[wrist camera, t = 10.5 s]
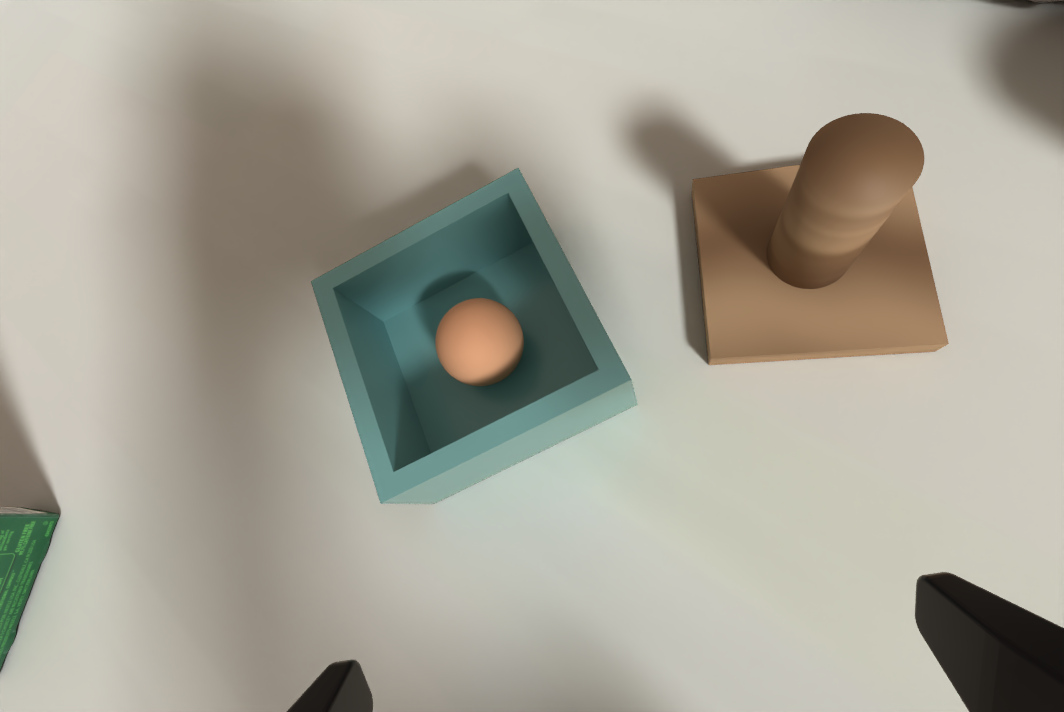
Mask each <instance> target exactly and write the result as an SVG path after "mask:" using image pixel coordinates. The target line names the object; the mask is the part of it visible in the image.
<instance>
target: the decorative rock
mask: <svg viewBox="0 0 1064 712" xmlns="http://www.w3.org/2000/svg"><path fill="white" fill-rule="evenodd" d="M1029 1H1034V2H1039V3H1045V2H1052V1H1064V0H1029Z"/></svg>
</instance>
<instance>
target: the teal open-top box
mask: <svg viewBox="0 0 1064 712" xmlns="http://www.w3.org/2000/svg"><path fill="white" fill-rule="evenodd" d="M311 283H312V286H313V290H314V293H315V296H316V299H317V302H318V306H319V309H320V312H321V315H322V318H323V321H324V325H325V328H326V331H327V334H328V337H329V341H330V344H331V347H332V350H333V353H334V357H335V360H336V363H337V366H338V369H339V372H340V376H341V379H342V382H343V385H344V388H345V392H346V395H347V398H348V401H349V404H350V408H351V411H352V414H353V417H354V420H355V423H356V427H357V430H358V433H359V436H360V439H361V443H362V446H363V449H364V452H365V455H366V459H367V462H368V465H369V468H370V471H371V474H372V478H373V481H374V484H375V487H376V490H377V494H378V497H379V500H380V503H381V504H435V503H437V502H439V501H441V500H443V499H445V498H447V497H449V496H451V495H453V494H455V493H457V492H460V491H462V490H464V489H466V488H468V487H470V486H472V485H474V484H476V483H478V482H480V481H482V480H484V479H486V478H488V477H490V476H492V475H494V474H496V473H498V472H500V471H502V470H505V469H507V468H509V467H511V466H513V465H515V464H517V463H519V462H521V461H523V460H525V459H527V458H529V457H531V456H533V455H535V454H537V453H539V452H541V451H543V450H545V449H548V448H550V447H552V446H554V445H556V444H558V443H560V442H562V441H564V440H566V439H568V438H570V437H572V436H574V435H576V434H578V433H580V432H582V431H584V430H586V429H588V428H590V427H593V426H595V425H597V424H599V423H601V422H603V421H605V420H607V419H609V418H611V417H613V416H615V415H617V414H619V413H621V412H623V411H625V410H627V409H629V408H631V407H633V406H635V405H638V404H637V400H636V396H635V392H634V388H633V384H632V380H631V378H630V376H629V374H628V372H627V371H626V369H625V367H624V365H623V363H622V361H621V359H620V357H619V356H618V354H617V352H616V350H615V348H614V346H613V344H612V342H611V341H610V339H609V337H608V335H607V333H606V331H605V329H604V327H603V326H602V324H601V322H600V320H599V318H598V316H597V314H596V312H595V311H594V309H593V307H592V305H591V303H590V301H589V299H588V297H587V296H586V294H585V292H584V290H583V288H582V286H581V284H580V282H579V281H578V279H577V277H576V275H575V273H574V271H573V269H572V267H571V266H570V264H569V262H568V260H567V258H566V256H565V254H564V252H563V251H562V249H561V247H560V245H559V243H558V241H557V239H556V237H555V236H554V234H553V232H552V230H551V228H550V226H549V224H548V222H547V221H546V219H545V217H544V215H543V213H542V211H541V209H540V207H539V206H538V204H537V202H536V200H535V198H534V196H533V194H532V192H531V191H530V189H529V187H528V185H527V183H526V181H525V179H524V177H523V176H522V174H521V172H520V170H519V168H517V169H515V170H513V171H512V172H510V173H508V174H506V175H504V176H502V177H501V178H499V179H497V180H495V181H493V182H491V183H490V184H488V185H486V186H484V187H482V188H481V189H479V190H477V191H475V192H473V193H471V194H470V195H468V196H466V197H464V198H462V199H460V200H459V201H457V202H455V203H453V204H451V205H449V206H448V207H446V208H444V209H442V210H440V211H439V212H437V213H435V214H433V215H431V216H429V217H428V218H426V219H424V220H422V221H420V222H418V223H417V224H415V225H413V226H411V227H409V228H407V229H406V230H404V231H402V232H400V233H398V234H397V235H395V236H393V237H391V238H389V239H387V240H386V241H384V242H382V243H380V244H378V245H376V246H375V247H373V248H371V249H369V250H367V251H366V252H364V253H362V254H360V255H358V256H356V257H355V258H353V259H351V260H349V261H347V262H345V263H344V264H342V265H340V266H338V267H336V268H334V269H333V270H331V271H329V272H327V273H325V274H324V275H322V276H320V277H318V278H316V279H314V280H313V281H311ZM474 298H485V299H490V300H494V301H496V302H499V303H501V304H502V305H504V306H506V307H507V308H508V309H509V310H510V311H511V312H512V313H513V314H514V315H515V317H516V318H517V320H518V321H519V323H520V325H521V328H522V331H523V337H524V348H523V353H522V356H521V359H520V361H519V363H518V365H517V367H516V368H515V369H514V371H513V372H512V373H511V374H510V375H509V376H507V377H506V378H505V379H503V380H501V381H499V382H497V383H495V384H492V385H487V386H472V385H468V384H465V383H462V382H460V381H458V380H456V379H455V378H454V377H452V376H451V375H450V374H449V373H448V372H447V371H446V370H445V369H444V367H443V366H442V364H441V363H440V361H439V358H438V355H437V351H436V345H435V339H436V332H437V329H438V326H439V324H440V321H441V320H442V318H443V317H444V315H445V314H446V313H447V312H448V311H449V310H450V309H451V308H452V307H454V306H455V305H457V304H458V303H461V302H463V301H466V300H469V299H474Z"/></svg>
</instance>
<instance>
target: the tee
mask: <svg viewBox="0 0 1064 712" xmlns="http://www.w3.org/2000/svg"><path fill="white" fill-rule="evenodd" d="M923 165H924V152H923V148H922V145H921V143H920V141H919V139H918V137H917V136H916V135H915V133H914V132H913V131H912V130H911V129H910V128H908V127H907V126H906V125H904V124H903V123H901V122H899V121H898V120H895V119H893V118H890V117H887V116H884V115H879V114H871V113H860V114H852V115H847V116H844V117H841V118H838V119H836V120H833V121H831V122H830V123H828V124H826V125H825V126H824V127H822V128H821V129H820V130H819V131H818V132H817V133H816V134H815V135H814V136H813V138H812V139H811V141H810V142H809V145H808V147H807V149H806V152H805V154H804V157H803V159H802V162H801V164H800V165H794V166H787V167H779V168H772V169H765V170H757V171H750V172H743V173H735V174H728V175H721V176H713V177H706V178H699V179H693V184H692V200H693V210H694V220H695V231H696V241H697V251H698V261H699V271H700V281H701V292H702V302H703V312H704V322H705V332H706V342H707V353H708V363H709V365H717V364H734V363H751V362H768V361H784V360H801V359H818V358H835V357H852V356H868V355H885V354H902V353H919V352H935V351H937V350H938V349H940V348H942V347H944V346H945V345H947V344H949V343H948V339H947V335H946V331H945V326H944V322H943V318H942V313H941V309H940V305H939V300H938V296H937V292H936V287H935V283H934V279H933V275H932V270H931V266H930V262H929V257H928V253H927V249H926V244H925V240H924V236H923V232H922V227H921V223H920V219H919V214H918V210H917V206H916V201H915V197H914V193H913V188H912V186H913V185H914V184H915V182H916V181H917V180H918V178H919V176H920V174H921V172H922V169H923Z"/></svg>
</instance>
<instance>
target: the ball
mask: <svg viewBox="0 0 1064 712" xmlns="http://www.w3.org/2000/svg"><path fill="white" fill-rule="evenodd" d="M435 345H436V351H437V355H438V358H439V361H440V363H441V364H442V366H443V367H444V369H445V370H446V371H447V372H448V373H449V374H450V375H451V376H452V377H454V378H455V379H456V380H458V381H460V382H462V383H465V384H468V385H472V386H487V385H492V384H495V383H497V382H499V381H501V380H503V379H505V378H506V377H507V376H509V375H510V374H511V373H512V372H513V371H514V369H515V368H516V367H517V365H518V363H519V361H520V359H521V356H522V353H523V348H524V337H523V331H522V328H521V325H520V323H519V321H518V320H517V318H516V317H515V315H514V314H513V313H512V312H511V311H510V310H509V309H508V308H507V307H506V306H504V305H502V304H501V303H499V302H496V301H494V300H490V299H485V298H474V299H469V300H466V301H463V302H461V303H458V304H457V305H455V306H454V307H452V308H451V309H450V310H449V311H448V312H447V313H446V314H445V315H444V317H443V318H442V320H441V321H440V324H439V326H438V329H437V332H436V339H435Z"/></svg>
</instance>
